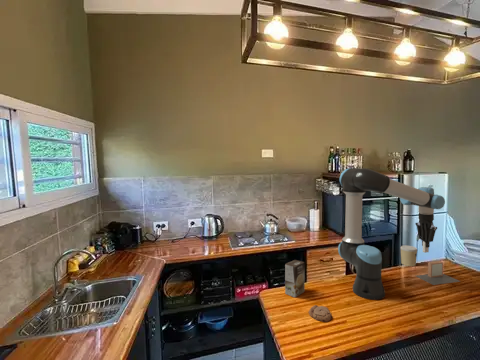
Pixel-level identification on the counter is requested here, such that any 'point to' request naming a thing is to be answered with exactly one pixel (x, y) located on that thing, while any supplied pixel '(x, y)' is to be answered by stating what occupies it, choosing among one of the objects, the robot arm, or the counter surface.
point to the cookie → (320, 313)
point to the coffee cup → (408, 255)
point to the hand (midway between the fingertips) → (425, 252)
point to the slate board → (437, 279)
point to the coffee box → (294, 278)
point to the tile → (435, 269)
